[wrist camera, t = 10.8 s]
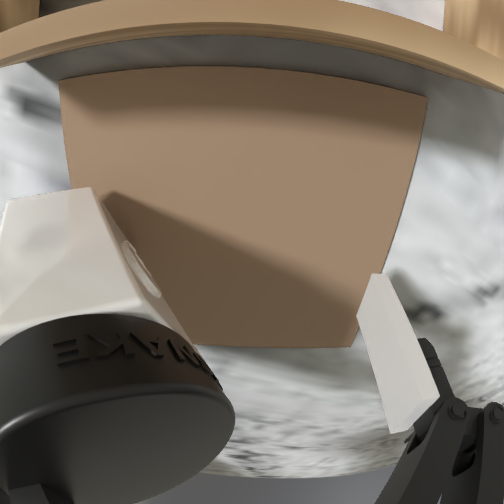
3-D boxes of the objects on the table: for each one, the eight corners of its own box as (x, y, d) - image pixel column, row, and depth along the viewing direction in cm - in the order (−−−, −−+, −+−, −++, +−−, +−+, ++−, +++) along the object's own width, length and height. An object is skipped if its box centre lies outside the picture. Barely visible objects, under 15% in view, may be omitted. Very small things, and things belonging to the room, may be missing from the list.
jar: (154, 268, 19) (270, 430, 11) (58, 341, 17) (118, 520, 9) (73, 147, 13) (135, 310, 5) (-41, 247, 11) (-73, 472, 3)
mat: (349, 344, 23) (350, 347, 23) (113, 332, 22) (112, 335, 22) (425, 97, 13) (428, 98, 12) (61, 79, 12) (58, 80, 12)
